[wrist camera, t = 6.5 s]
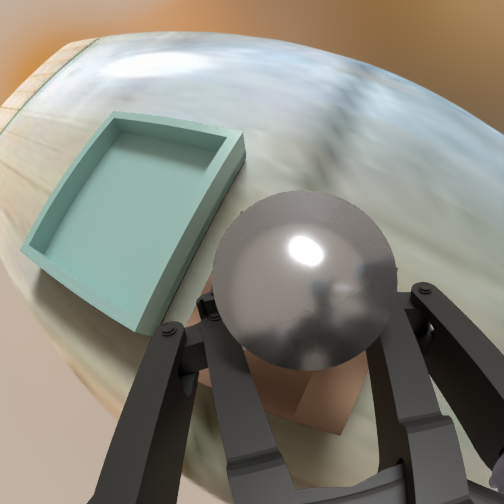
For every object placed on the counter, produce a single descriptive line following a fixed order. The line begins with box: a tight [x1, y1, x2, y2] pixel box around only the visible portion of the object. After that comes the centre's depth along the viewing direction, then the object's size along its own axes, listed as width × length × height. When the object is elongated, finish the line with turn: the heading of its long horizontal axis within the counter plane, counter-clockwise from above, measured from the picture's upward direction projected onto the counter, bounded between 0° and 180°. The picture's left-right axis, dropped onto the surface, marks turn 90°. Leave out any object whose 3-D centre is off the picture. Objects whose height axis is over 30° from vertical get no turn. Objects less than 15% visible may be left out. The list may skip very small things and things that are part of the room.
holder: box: [186, 211, 398, 435], centre depth 19 cm, size 12×12×3 cm
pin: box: [212, 190, 397, 371], centre depth 14 cm, size 6×6×13 cm
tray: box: [20, 111, 246, 336], centre depth 24 cm, size 18×16×4 cm
